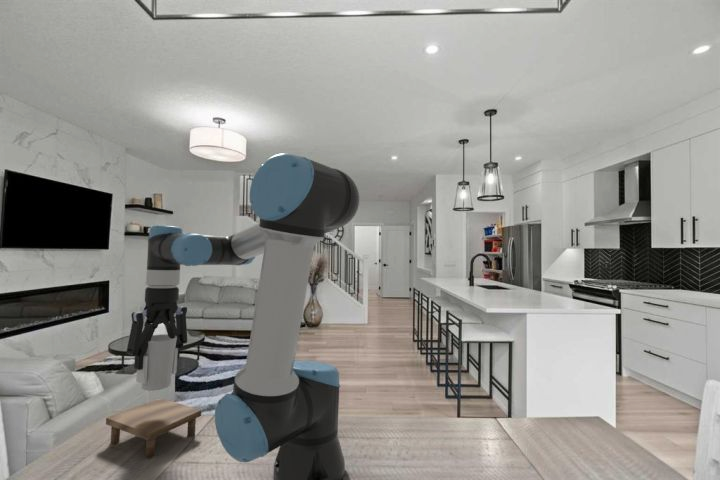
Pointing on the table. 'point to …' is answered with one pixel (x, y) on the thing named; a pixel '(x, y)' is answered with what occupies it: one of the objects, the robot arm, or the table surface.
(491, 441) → the table surface
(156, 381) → the cup
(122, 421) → the low wooden table
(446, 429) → the table surface
